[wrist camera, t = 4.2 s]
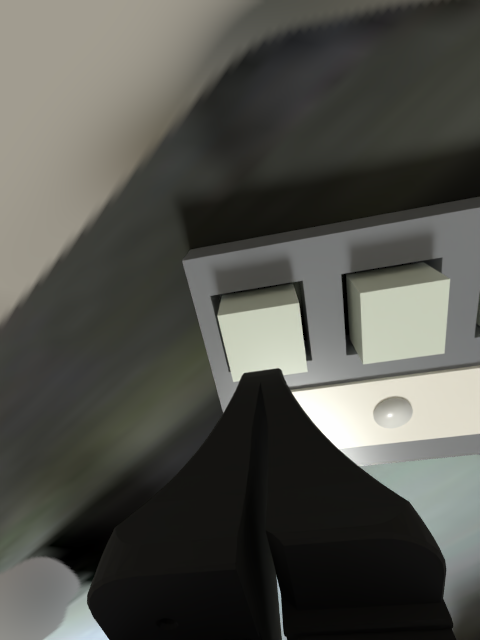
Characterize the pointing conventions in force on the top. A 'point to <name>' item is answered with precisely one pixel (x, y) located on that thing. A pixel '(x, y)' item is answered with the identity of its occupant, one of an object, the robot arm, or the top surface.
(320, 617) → the robot arm
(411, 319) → the middle button
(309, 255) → the button board
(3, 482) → the top surface
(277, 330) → the left button
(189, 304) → the top surface
